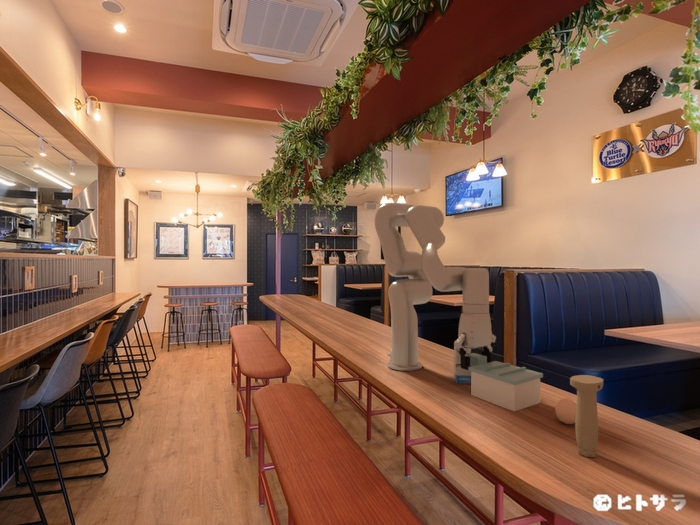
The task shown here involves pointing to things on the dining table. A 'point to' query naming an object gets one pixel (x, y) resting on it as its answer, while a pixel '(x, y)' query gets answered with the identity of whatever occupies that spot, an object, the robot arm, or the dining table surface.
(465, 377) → the ink box
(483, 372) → the lid
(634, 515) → the dining table surface
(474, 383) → the tub
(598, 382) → the handle
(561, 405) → the egg
